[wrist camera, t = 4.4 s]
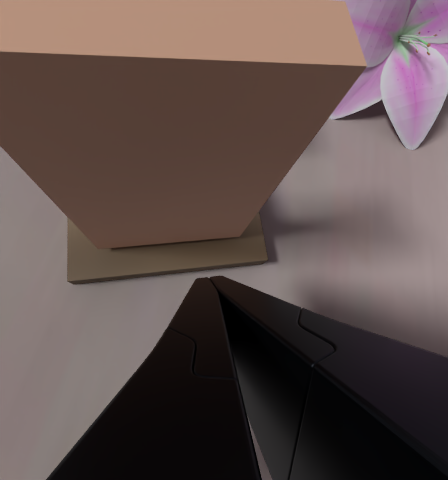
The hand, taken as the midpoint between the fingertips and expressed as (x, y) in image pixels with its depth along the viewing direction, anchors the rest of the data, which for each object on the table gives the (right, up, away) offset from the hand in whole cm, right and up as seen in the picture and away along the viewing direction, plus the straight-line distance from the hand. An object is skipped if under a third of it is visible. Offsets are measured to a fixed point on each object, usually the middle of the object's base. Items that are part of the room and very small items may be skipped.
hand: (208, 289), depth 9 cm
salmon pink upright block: (-3, +6, +7) cm, 10 cm away
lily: (+11, +13, +13) cm, 21 cm away
